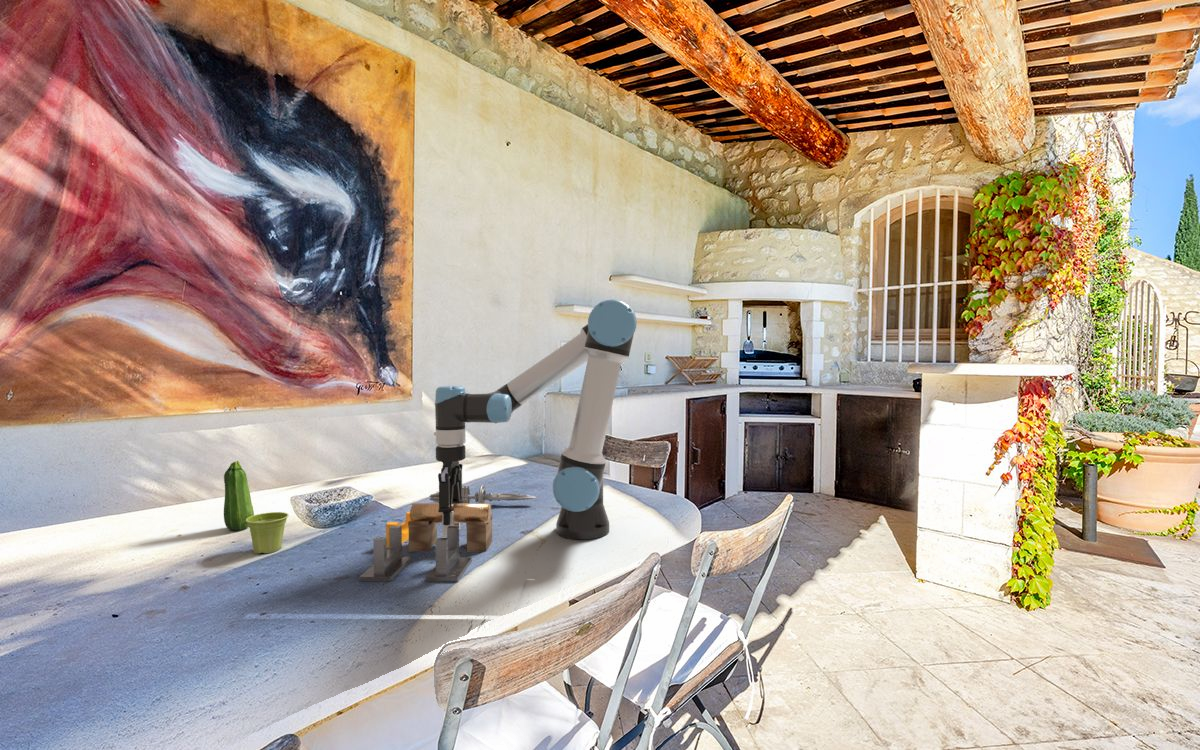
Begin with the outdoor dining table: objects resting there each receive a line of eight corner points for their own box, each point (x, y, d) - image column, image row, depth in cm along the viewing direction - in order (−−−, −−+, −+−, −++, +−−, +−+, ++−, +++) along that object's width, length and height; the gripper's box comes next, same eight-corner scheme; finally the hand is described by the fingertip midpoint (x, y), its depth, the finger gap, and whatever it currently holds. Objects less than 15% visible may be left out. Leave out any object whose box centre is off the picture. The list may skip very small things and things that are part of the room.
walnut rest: (492, 542, 144) (492, 513, 144) (485, 552, 136) (485, 522, 136) (419, 541, 144) (418, 513, 144) (408, 551, 137) (408, 522, 136)
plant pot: (279, 541, 145) (278, 509, 144) (295, 548, 139) (295, 515, 139) (240, 551, 137) (239, 518, 137) (256, 559, 132) (255, 524, 131)
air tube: (491, 519, 142) (491, 501, 142) (486, 525, 137) (486, 506, 137) (417, 519, 143) (416, 500, 143) (409, 525, 138) (409, 505, 138)
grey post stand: (471, 561, 130) (471, 524, 130) (457, 581, 118) (457, 541, 118) (382, 560, 130) (382, 524, 130) (359, 581, 118) (358, 541, 118)
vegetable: (241, 534, 151) (240, 463, 150) (217, 533, 151) (215, 463, 151) (259, 526, 158) (258, 459, 157) (236, 525, 158) (235, 458, 158)
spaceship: (534, 512, 172) (534, 488, 172) (426, 512, 172) (425, 488, 172) (537, 505, 180) (537, 482, 180) (433, 505, 180) (433, 482, 180)
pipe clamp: (404, 533, 152) (404, 511, 152) (418, 534, 151) (418, 511, 151) (380, 548, 140) (379, 523, 140) (395, 549, 139) (395, 524, 139)
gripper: (447, 439, 149) (447, 522, 149) (424, 450, 130) (425, 544, 131) (473, 439, 148) (474, 522, 149) (454, 450, 130) (455, 544, 131)
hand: (451, 532), depth 140 cm, fingers closed on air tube, 5 cm apart
